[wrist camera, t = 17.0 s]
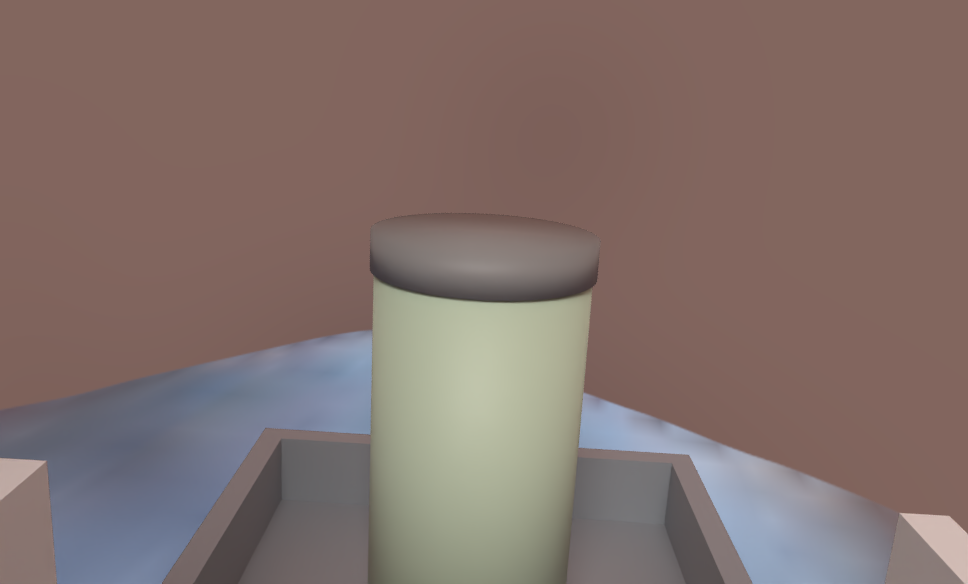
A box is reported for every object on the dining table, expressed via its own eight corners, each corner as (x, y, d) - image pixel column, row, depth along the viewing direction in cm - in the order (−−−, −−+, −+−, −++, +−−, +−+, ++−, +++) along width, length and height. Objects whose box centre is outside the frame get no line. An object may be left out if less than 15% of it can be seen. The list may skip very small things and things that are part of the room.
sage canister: (320, 655, 23) (321, 231, 20) (438, 559, 28) (453, 206, 25) (499, 748, 20) (532, 270, 17) (596, 623, 25) (635, 233, 22)
